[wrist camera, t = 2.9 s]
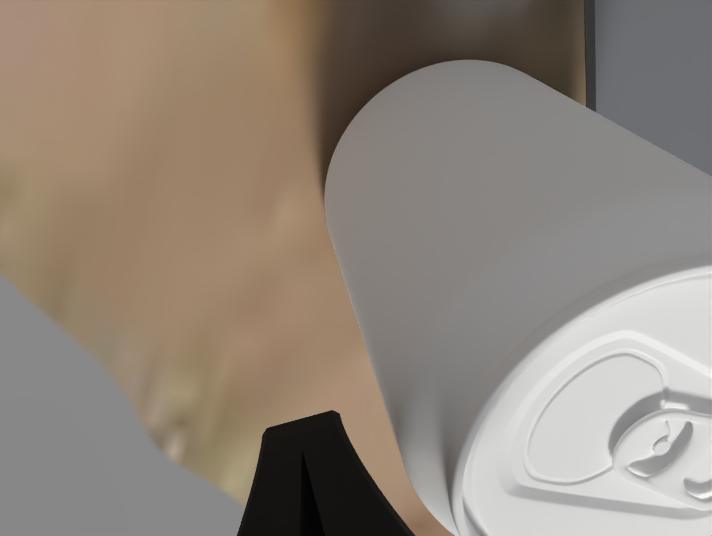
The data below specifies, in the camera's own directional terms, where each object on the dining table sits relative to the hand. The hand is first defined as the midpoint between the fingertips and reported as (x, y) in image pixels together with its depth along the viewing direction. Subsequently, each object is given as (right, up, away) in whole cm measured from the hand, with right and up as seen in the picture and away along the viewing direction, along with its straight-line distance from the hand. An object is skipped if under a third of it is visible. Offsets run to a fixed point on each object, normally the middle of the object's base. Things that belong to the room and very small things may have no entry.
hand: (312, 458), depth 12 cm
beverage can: (+4, +6, +9) cm, 12 cm away
